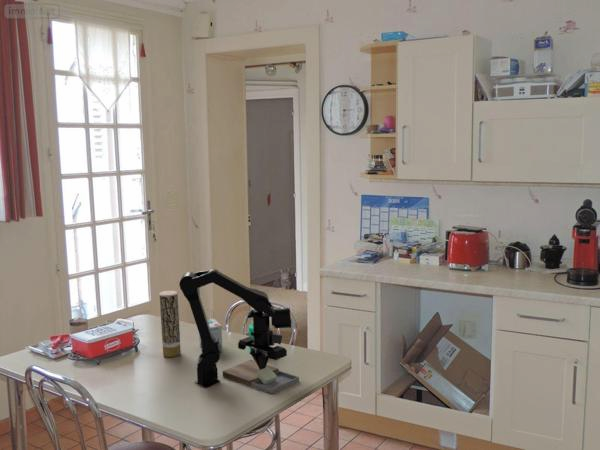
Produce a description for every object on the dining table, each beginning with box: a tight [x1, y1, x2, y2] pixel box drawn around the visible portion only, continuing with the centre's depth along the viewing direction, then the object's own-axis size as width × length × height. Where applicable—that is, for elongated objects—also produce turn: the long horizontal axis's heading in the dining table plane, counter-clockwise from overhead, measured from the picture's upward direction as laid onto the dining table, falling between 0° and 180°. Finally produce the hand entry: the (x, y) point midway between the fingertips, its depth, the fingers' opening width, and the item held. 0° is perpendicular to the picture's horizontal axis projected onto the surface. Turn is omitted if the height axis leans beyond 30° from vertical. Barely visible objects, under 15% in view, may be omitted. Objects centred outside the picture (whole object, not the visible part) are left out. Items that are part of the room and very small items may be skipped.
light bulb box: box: [198, 318, 224, 353], centre depth 250 cm, size 11×7×11 cm, turn 25°
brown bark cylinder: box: [159, 290, 182, 358], centre depth 244 cm, size 7×7×25 cm
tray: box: [250, 369, 300, 395], centre depth 216 cm, size 14×10×2 cm
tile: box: [256, 367, 277, 385], centre depth 217 cm, size 5×5×2 cm
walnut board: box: [222, 359, 279, 387], centre depth 223 cm, size 14×14×2 cm
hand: (262, 371), depth 219 cm, fingers closed
